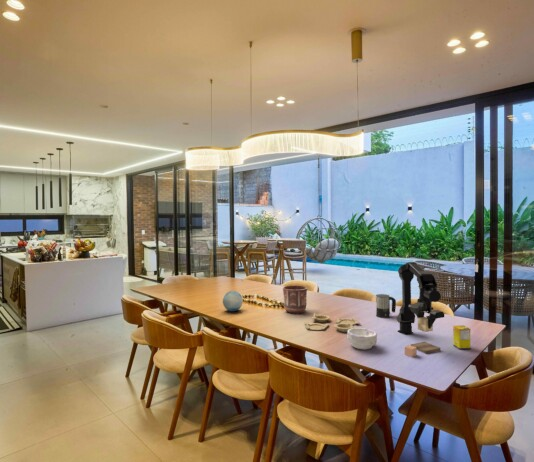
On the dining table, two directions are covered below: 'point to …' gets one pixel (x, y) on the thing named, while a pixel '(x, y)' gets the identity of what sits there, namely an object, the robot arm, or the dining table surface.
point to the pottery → (295, 298)
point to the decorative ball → (232, 301)
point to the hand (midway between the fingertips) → (425, 327)
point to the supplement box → (461, 337)
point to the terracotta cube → (410, 351)
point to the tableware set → (342, 326)
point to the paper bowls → (361, 338)
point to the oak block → (424, 324)
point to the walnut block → (426, 347)
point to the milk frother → (384, 305)
